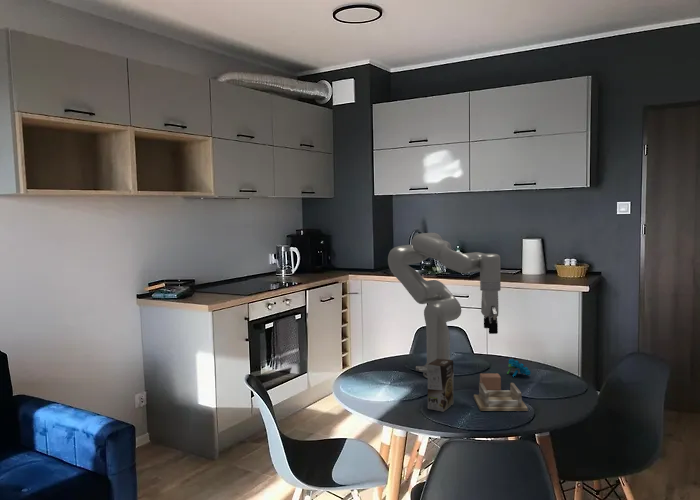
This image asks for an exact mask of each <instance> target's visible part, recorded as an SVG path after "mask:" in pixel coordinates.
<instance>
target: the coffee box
mask: <svg viewBox="0 0 700 500" xmlns="http://www.w3.org/2000/svg"><path fill="white" fill-rule="evenodd" d="M453 373H454V360H452V359H450V360H447V359H436V360H434V361H432V362H431V363H429V364H428V378H427V409H428V410H432V411H433V410H434V411H438V412H442V413H443V412H445V411H447V410H448V409H449V408H450V407H452V406H453V405H454V377H453ZM451 405H452V406H451Z"/></svg>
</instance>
